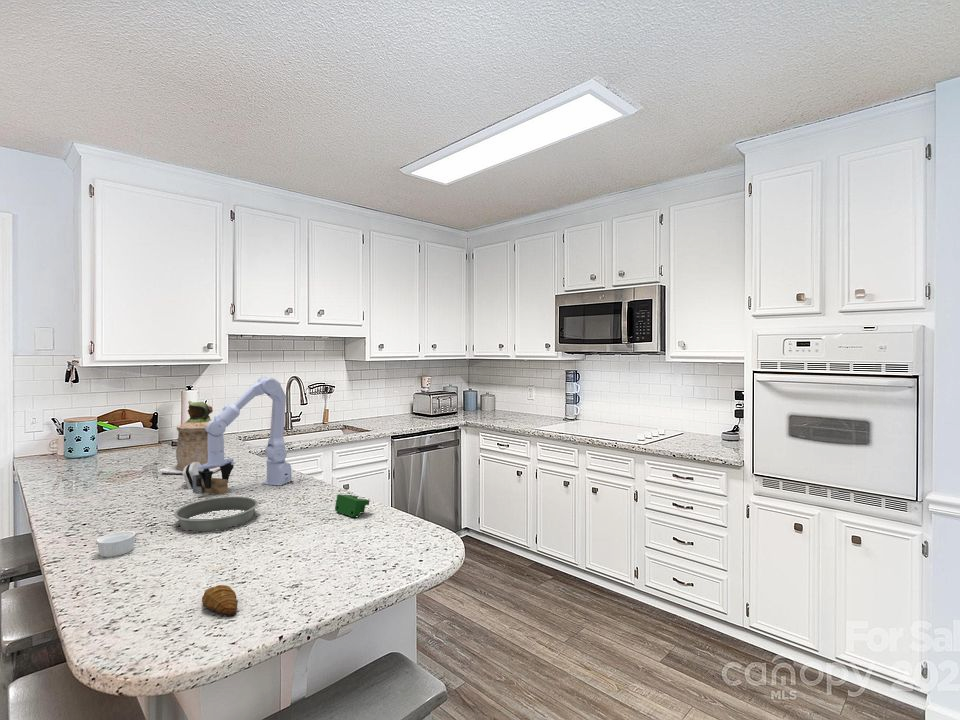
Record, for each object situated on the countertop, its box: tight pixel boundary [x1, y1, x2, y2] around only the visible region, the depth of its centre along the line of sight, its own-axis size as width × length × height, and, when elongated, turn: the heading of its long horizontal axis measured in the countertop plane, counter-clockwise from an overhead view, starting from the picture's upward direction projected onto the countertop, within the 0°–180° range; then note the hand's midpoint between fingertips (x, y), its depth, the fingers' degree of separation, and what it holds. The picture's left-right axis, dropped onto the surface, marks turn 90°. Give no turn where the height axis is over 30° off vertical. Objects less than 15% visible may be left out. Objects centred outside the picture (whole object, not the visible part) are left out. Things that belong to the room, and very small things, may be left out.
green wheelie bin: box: [334, 494, 370, 518], centre depth 178 cm, size 12×6×9 cm, turn 43°
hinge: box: [182, 462, 201, 490], centre depth 218 cm, size 17×5×10 cm, turn 17°
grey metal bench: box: [192, 474, 213, 495], centre depth 207 cm, size 5×7×6 cm
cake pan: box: [173, 496, 259, 532], centre depth 172 cm, size 25×25×4 cm
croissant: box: [201, 584, 239, 617], centre depth 114 cm, size 14×7×5 cm, turn 48°
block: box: [201, 477, 229, 495], centre depth 205 cm, size 10×4×5 cm, turn 66°
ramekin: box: [96, 530, 136, 558], centre depth 146 cm, size 9×9×4 cm
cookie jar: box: [158, 400, 237, 475], centre depth 245 cm, size 25×25×32 cm
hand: (216, 485), depth 205 cm, fingers open, 7 cm apart
